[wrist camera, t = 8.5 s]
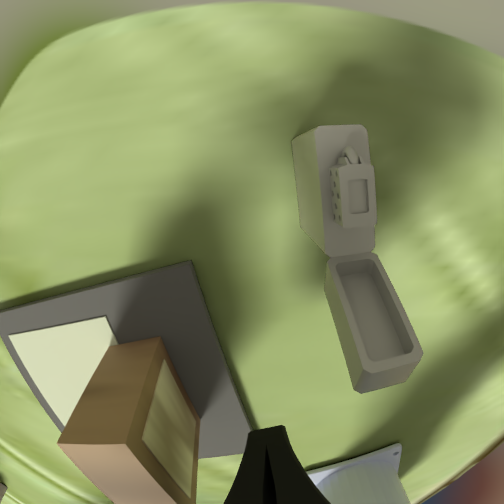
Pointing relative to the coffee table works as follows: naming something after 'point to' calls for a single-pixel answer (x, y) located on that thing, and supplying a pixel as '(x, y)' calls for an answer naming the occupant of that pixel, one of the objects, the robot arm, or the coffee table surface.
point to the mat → (124, 331)
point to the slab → (136, 428)
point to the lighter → (353, 255)
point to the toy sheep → (2, 491)
